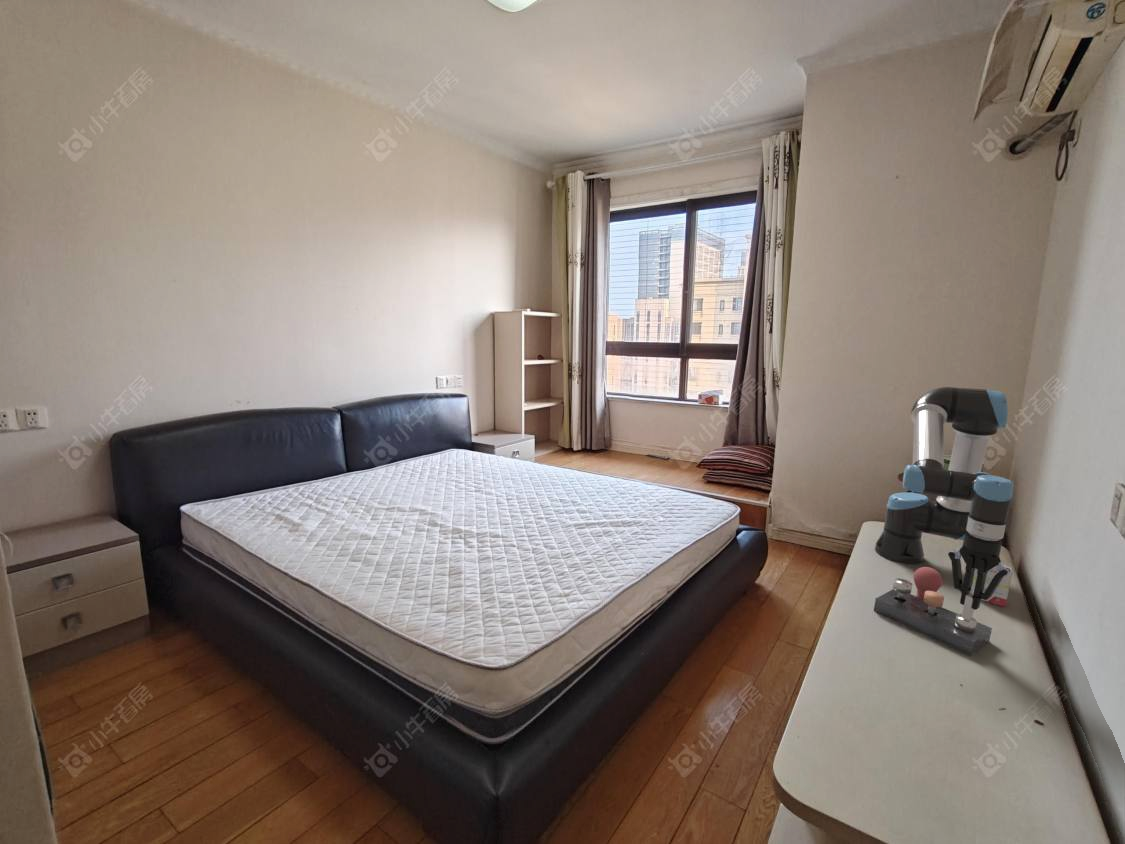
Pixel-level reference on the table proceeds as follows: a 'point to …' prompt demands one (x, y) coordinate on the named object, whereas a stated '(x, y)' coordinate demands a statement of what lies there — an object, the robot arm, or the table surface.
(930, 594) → the knob
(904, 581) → the knob
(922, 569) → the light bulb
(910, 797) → the table surface
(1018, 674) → the table surface
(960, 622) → the knob
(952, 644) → the mount plate
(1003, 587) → the ink box
